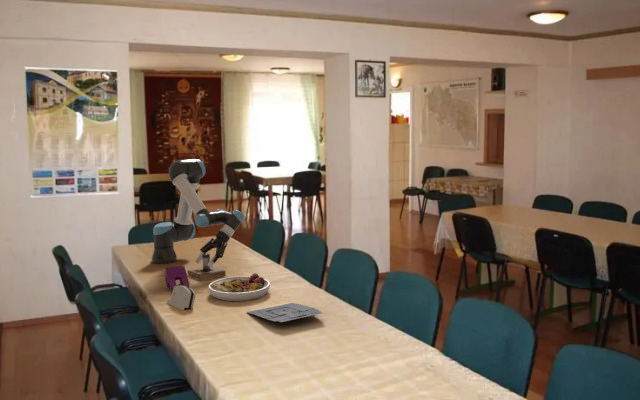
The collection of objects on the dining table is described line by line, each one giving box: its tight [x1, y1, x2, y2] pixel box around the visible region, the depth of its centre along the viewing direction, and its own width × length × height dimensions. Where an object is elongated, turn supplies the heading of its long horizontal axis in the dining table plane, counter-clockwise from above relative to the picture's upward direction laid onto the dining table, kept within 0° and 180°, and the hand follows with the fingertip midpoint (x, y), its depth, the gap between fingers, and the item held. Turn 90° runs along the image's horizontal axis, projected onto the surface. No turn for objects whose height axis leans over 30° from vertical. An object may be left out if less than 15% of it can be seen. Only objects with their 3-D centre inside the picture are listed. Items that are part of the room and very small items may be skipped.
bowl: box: [208, 272, 271, 302], centre depth 289 cm, size 30×30×8 cm
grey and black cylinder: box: [202, 253, 211, 272], centre depth 324 cm, size 4×4×12 cm
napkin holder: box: [166, 285, 196, 311], centre depth 272 cm, size 17×5×10 cm, turn 41°
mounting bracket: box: [164, 265, 190, 292], centre depth 300 cm, size 10×9×19 cm
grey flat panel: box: [246, 302, 323, 323], centre depth 254 cm, size 24×30×4 cm
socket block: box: [187, 265, 226, 281], centre depth 324 cm, size 15×15×3 cm
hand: (202, 264), depth 322 cm, fingers open, 13 cm apart
